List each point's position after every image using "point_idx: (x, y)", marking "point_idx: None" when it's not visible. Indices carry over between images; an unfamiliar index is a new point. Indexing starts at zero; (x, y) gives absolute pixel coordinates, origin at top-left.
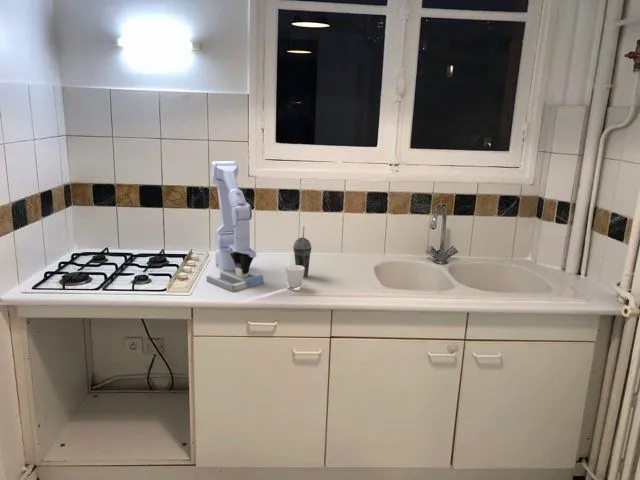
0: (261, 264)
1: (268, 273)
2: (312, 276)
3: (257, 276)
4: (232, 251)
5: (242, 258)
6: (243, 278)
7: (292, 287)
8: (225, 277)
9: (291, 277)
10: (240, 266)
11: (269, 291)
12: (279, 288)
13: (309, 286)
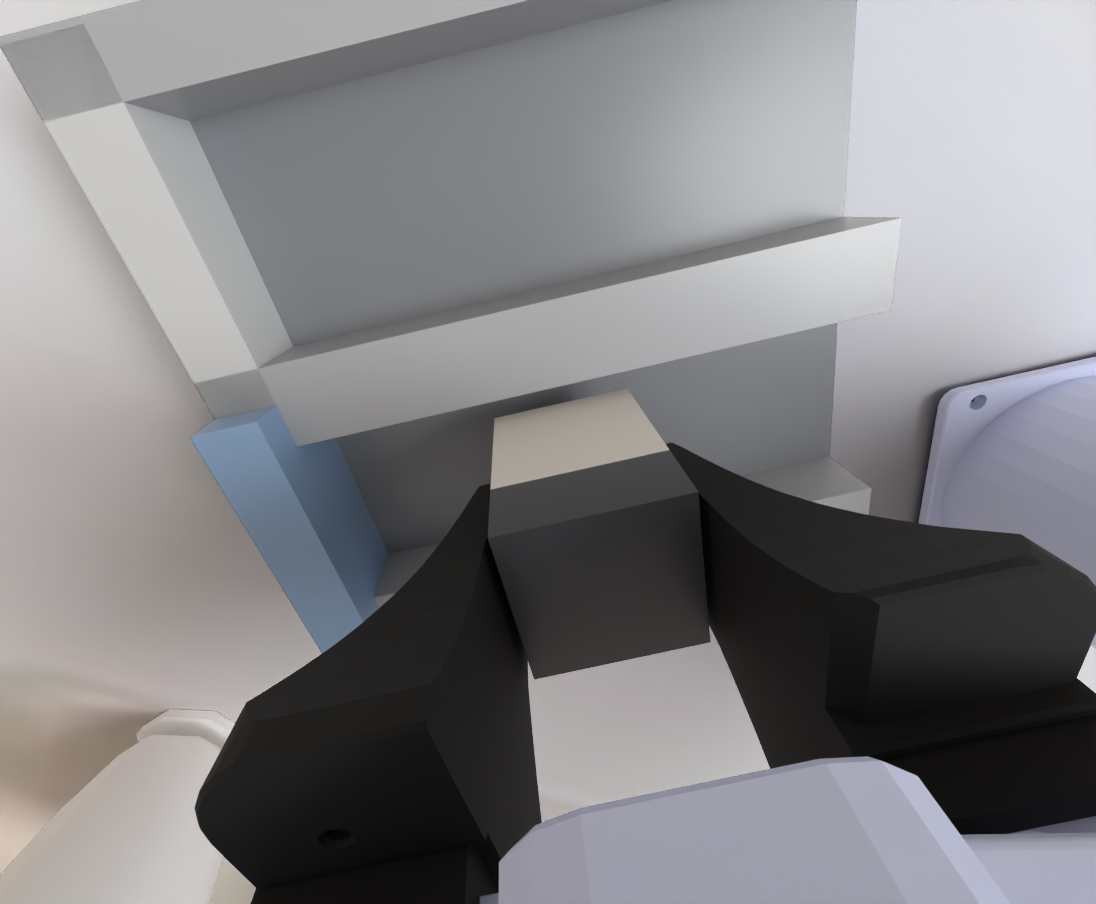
0: None
1: (679, 706)
2: None
3: (308, 597)
4: (828, 767)
5: (248, 722)
6: None
7: (206, 736)
8: (725, 249)
9: (25, 857)
10: (506, 514)
11: (157, 555)
12: (232, 653)
13: None
